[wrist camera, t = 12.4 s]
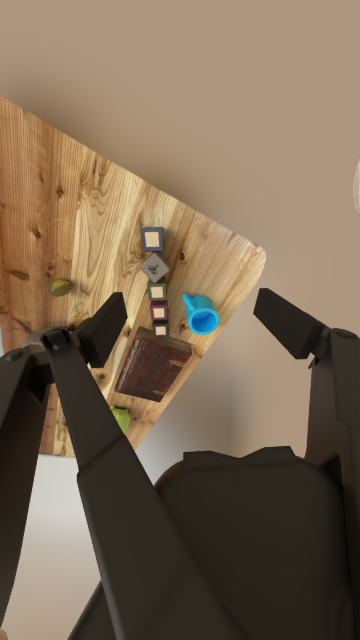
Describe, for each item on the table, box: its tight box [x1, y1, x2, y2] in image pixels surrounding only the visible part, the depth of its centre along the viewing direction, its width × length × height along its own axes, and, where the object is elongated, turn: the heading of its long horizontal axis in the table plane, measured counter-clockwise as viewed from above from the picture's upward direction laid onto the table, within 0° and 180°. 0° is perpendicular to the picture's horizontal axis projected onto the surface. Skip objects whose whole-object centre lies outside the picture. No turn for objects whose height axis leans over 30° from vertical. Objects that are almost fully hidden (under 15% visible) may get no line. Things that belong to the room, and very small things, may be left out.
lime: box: [49, 279, 72, 297], centre depth 40 cm, size 4×5×5 cm
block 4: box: [152, 319, 169, 337], centre depth 48 cm, size 4×4×5 cm
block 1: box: [140, 227, 164, 251], centre depth 35 cm, size 4×4×5 cm
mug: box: [182, 293, 219, 335], centre depth 43 cm, size 12×8×8 cm
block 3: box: [150, 299, 168, 320], centre depth 45 cm, size 4×4×5 cm
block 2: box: [147, 278, 167, 301], centre depth 42 cm, size 4×4×5 cm
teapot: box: [110, 406, 130, 434], centre depth 70 cm, size 20×13×13 cm
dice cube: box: [139, 251, 170, 283], centre depth 38 cm, size 5×5×5 cm
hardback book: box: [115, 327, 192, 402], centre depth 57 cm, size 29×19×5 cm, turn 155°
